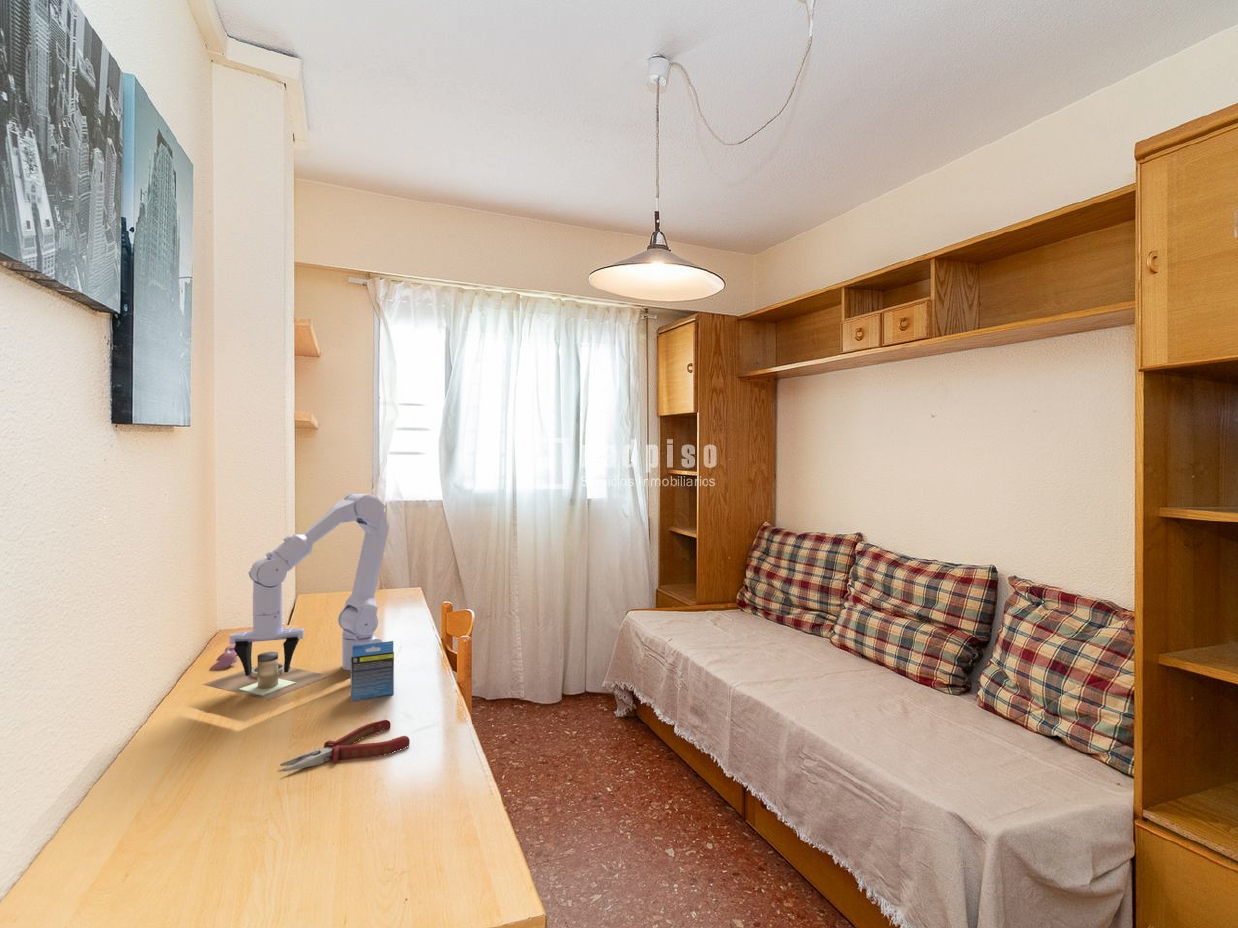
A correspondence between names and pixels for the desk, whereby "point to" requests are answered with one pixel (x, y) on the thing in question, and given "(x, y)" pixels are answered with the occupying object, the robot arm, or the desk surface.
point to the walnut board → (241, 680)
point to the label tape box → (372, 670)
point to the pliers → (350, 747)
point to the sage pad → (255, 690)
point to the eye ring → (255, 670)
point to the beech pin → (267, 670)
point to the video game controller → (225, 659)
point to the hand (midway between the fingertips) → (267, 672)
